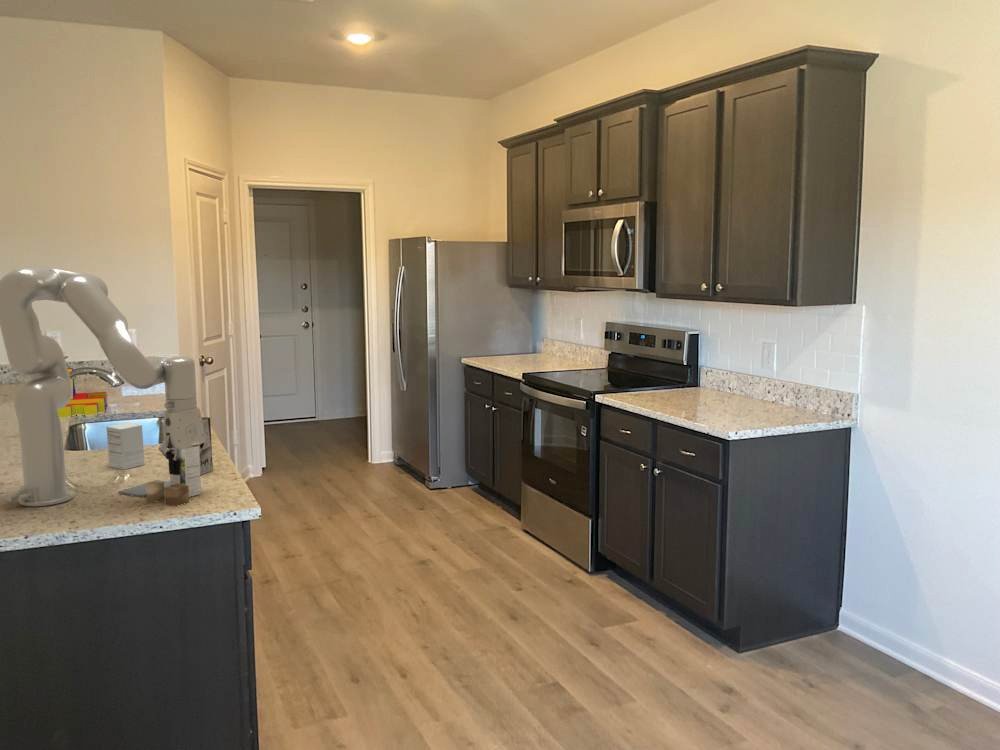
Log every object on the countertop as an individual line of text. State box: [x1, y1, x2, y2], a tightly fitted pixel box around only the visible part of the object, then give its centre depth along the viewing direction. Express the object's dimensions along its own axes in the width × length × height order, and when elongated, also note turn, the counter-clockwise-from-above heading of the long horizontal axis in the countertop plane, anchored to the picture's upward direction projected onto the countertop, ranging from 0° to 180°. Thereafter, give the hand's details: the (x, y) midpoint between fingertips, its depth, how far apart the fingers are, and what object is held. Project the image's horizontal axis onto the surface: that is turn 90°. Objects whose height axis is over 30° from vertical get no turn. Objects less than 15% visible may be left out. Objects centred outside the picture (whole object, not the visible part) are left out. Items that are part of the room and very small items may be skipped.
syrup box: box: [169, 442, 202, 498], centre depth 215 cm, size 6×6×14 cm
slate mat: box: [118, 479, 170, 498], centre depth 221 cm, size 13×9×1 cm
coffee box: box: [200, 416, 214, 476], centre depth 239 cm, size 9×6×16 cm
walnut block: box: [164, 484, 190, 507], centre depth 208 cm, size 4×4×4 cm
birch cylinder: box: [145, 480, 165, 503], centre depth 212 cm, size 4×4×4 cm
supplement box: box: [105, 422, 145, 470], centre depth 247 cm, size 7×7×13 cm
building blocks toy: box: [58, 367, 108, 417], centre depth 337 cm, size 19×25×18 cm
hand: (184, 470), depth 215 cm, fingers closed on syrup box, 6 cm apart
